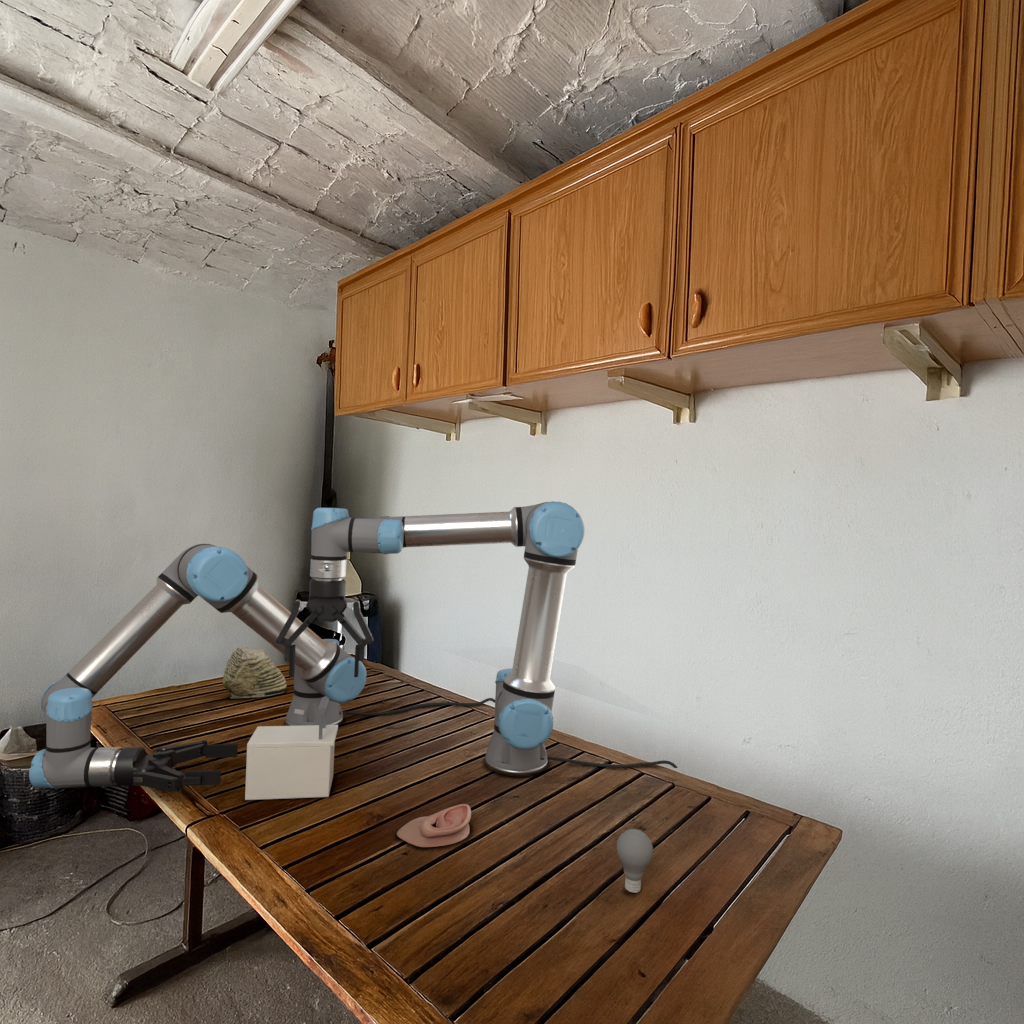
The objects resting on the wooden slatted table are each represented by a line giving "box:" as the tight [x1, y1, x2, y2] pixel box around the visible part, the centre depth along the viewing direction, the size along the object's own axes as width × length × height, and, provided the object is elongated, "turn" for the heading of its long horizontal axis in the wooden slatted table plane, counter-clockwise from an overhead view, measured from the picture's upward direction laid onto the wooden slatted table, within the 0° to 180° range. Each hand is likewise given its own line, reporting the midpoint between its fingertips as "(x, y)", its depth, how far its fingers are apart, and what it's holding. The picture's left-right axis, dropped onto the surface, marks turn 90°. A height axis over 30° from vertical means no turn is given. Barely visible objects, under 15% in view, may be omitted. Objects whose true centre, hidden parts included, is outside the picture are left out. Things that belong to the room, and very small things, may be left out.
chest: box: [244, 742, 336, 801], centre depth 137 cm, size 17×10×11 cm, turn 101°
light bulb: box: [615, 828, 654, 894], centre depth 106 cm, size 6×6×10 cm
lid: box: [246, 696, 339, 749], centre depth 137 cm, size 17×10×8 cm, turn 100°
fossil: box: [222, 646, 288, 699], centre depth 198 cm, size 9×18×15 cm, turn 132°
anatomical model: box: [396, 803, 472, 848], centre depth 121 cm, size 13×4×12 cm
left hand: (229, 763), depth 135 cm, fingers open, 13 cm apart
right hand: (324, 675), depth 138 cm, fingers open, 13 cm apart
